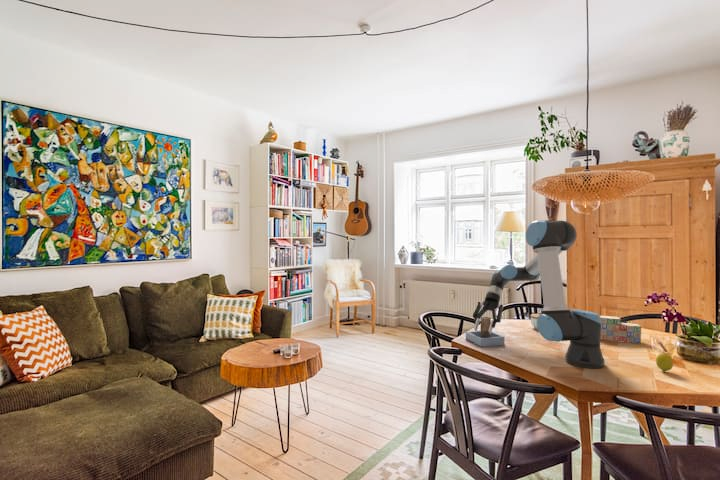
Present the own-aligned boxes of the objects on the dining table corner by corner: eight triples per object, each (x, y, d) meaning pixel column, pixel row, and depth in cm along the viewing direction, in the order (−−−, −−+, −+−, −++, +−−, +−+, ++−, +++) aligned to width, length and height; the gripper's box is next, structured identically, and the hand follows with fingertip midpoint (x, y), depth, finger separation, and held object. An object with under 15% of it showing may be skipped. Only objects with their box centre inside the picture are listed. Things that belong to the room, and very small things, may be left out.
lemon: (654, 371, 160) (655, 352, 160) (657, 368, 164) (657, 349, 164) (671, 375, 156) (672, 355, 156) (673, 371, 160) (674, 352, 160)
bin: (504, 344, 198) (504, 336, 198) (480, 346, 194) (480, 338, 194) (487, 337, 211) (488, 329, 211) (465, 339, 207) (465, 331, 207)
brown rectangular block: (492, 341, 201) (492, 318, 200) (483, 342, 199) (484, 319, 199) (486, 339, 205) (487, 316, 205) (478, 339, 204) (478, 317, 204)
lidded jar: (526, 327, 233) (526, 312, 233) (538, 325, 238) (538, 310, 238) (542, 331, 223) (542, 315, 223) (553, 329, 228) (554, 313, 228)
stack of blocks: (637, 341, 205) (638, 318, 205) (640, 344, 200) (641, 320, 199) (591, 336, 214) (591, 314, 214) (593, 339, 208) (593, 316, 208)
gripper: (513, 302, 208) (503, 338, 195) (477, 297, 220) (466, 331, 208) (510, 293, 203) (499, 330, 191) (474, 289, 216) (462, 323, 203)
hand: (482, 330), depth 199 cm, fingers open, 7 cm apart
